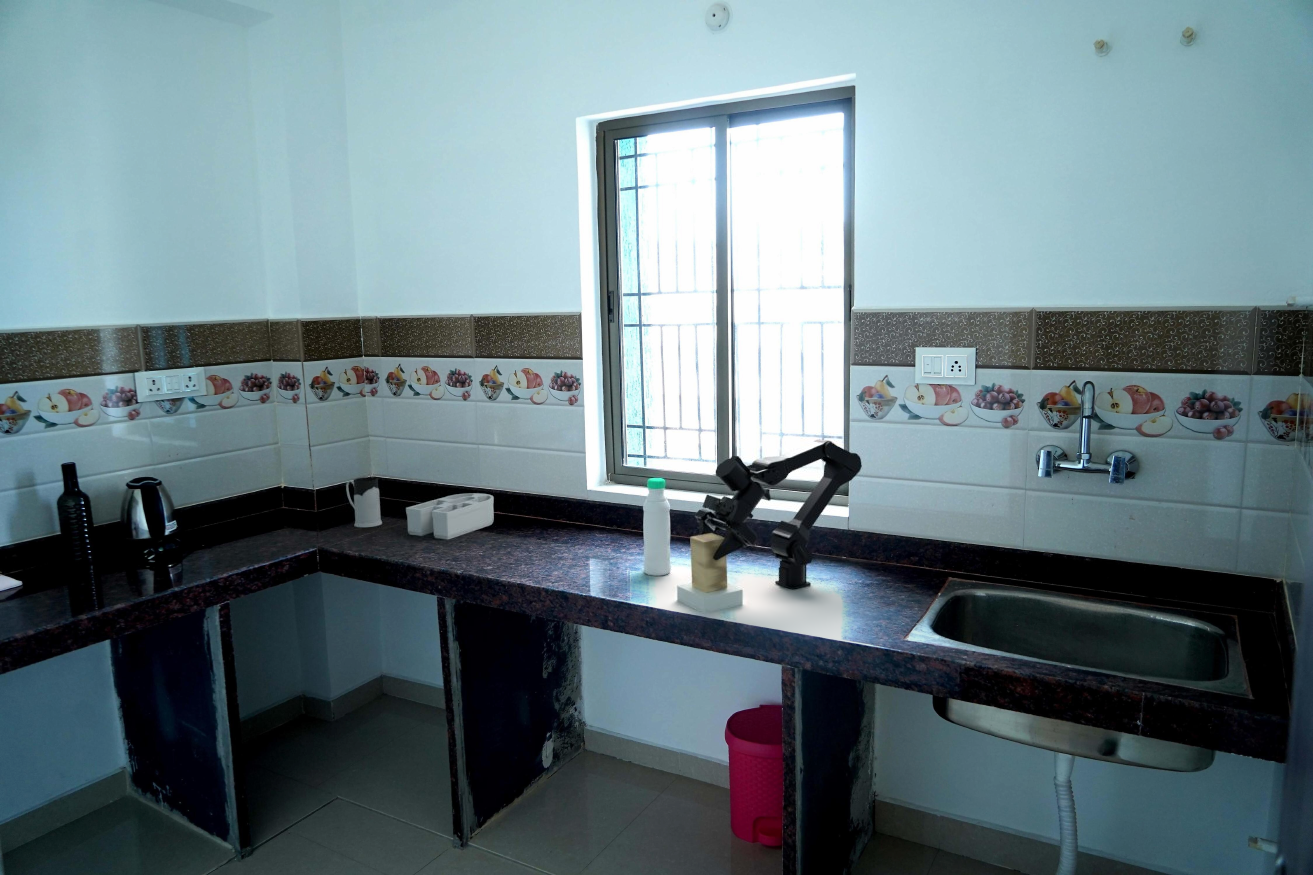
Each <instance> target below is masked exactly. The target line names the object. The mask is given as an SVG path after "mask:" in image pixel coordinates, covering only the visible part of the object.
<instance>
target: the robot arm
mask: <svg viewBox="0 0 1313 875" xmlns="http://www.w3.org/2000/svg"><path fill="white" fill-rule="evenodd" d="M819 460H821V462H824V465H823V475H822V477H821V478H820V480H819V481H818V482H817V484H816V485H815V487H814V488H813V490H812V491H811V492H810V494H809V496H808V497H807V498H806V500H805V502H803V504H802V506H800V508H799V510H798V511H797V512H796V513H795V515H794V517H793V518H791V520H789V521H785V520H781V521H780V522H778V525H777V527H776V528H775V529H774V530H773V531H772V532H771V537H770V539H769V542H770V549H771V551H772V552H773V554H774V558H775V559H779V567H778V580H776V581H775V582H774V583H775V585H778V586H781V587H784V588H788V589H790V590H796V589H800V588H803V587H804V588H805V587H808V586H811V585H812V583H811V582H809V581H807V566H808V564H812V561H813V558H814V554H813V553H812V551H810V549H808V547H807V545H808V543H809V539H810V538H809V536H810V530H812V527H814V525H815V523H816V521H817V520H818V519H819V517H820V516H821V514H823V512H824V510H825V509H826V508H827V506H828V504H829V503H830V502H831V500H832V498H834V496H835V494H837V492H838V490H839V489H840V487H842V486H843V485H845V484H847V483H850V482H851V481H853V479H854V478H855V477H856V476H857V475H858V474H859V473H860V472H861V469H862V466H863V465H862V458H861V456H860V455H859V454H857V453H856V452H852V451H849V450H846V449H845V448H843V447H840V446H838V445H837V444H835V443H834V442H833V441H831V440H829V439H828V440H827V439H821V438H819V439H815V440H813V442H810V443H809V444H805V445H804V446H801V447H799V448H796V449H794V450H791V451H789V452H786V453H784V454H782V455H778V456H767V457H761V458H756V459H755V460H753V462H752V463H750V464H747V465H746V464H745V463H744V462H743V460H742V458H741V457H740V455H739V456H738V455H735V454H732V455H731V457H730V458H727V459H725V460H723V461H722V462H721V463H719V464H718V466H717V467H716V469H715V475H716V477H717V478H718V479H719V480H720V481H721V482H722V483H723V484H724V485H725V487H727V489H728V490H730V491H731V492H735V493H734V494H733V496H732V498H730V497H729V496H725V495H724V496H723V497H721V498H720V497H716V496H713V495H711V494H710V495H709V494H706V495H705V498H704V501H703V503H702V509H699V510H697V512H696V513H695V515H694V517H695V518H696V520H697V523H698V525H699V531H698V534H697V536H698V535H703V534H708V533H713V534H716V535H718V532H720V531H721V530H724V533H725V534H724V540H723V541H722V543H721V545H720V546H719V548H718V549H717V551H716V553H715V554H714V556H713V559H714V560H716V561H717V560H719V559H720V558H722V557H724V556H726V557H727V556H728V555H730V554H732V553H734V552H736V551H738V550H741V549H742V548H746V547H748V546H751V547H754V545H755V544H756V542H758V534H757V532H755V531H754V530H753V528H751V526H749V524H748V523H746V521H747V519H750V520H752V519H753V518H754V514H753V513H752V512H753V511H754V509H755V508H756V507H757V506H758V504H760V501H761V500H765V501H768V502H771V494H770V491H771V490H770V488H766V487H763V485H762V484H764V485H768V486H773V487H774V486H776V485H778V484H780V483H781V482H783V481H784V480H786V479H787V478H788V476H789V474H790V473H792V472H794V471H796V470H798V469H801V468H802V467H805V466H807V465H810V464H813V463H815V462H817V461H819ZM707 509H709V510H707ZM712 511H713V512H712Z"/></svg>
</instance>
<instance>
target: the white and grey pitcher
mask: <svg viewBox="0 0 1313 875" xmlns="http://www.w3.org/2000/svg"><path fill="white" fill-rule="evenodd" d="M349 483H351V484H352V485H353V489H354V490H353V492H354V494H353V501H354V502H353V501H352V499H351V495H350V491H349V485H350V484H349ZM345 487H346V488H345V489H346V490H345V491H346V495H347V498H348V501H349V503H350V505H351V506H352V507H353V509H354V518H355V520H354V527H357V528H371V527H377V526H380V525H381V526H382V524H383V521H382V519H381V505H380V504H381V501H380V489H379V479H378V477H374V476H368V477H367V476H366V477H358V478H355V479H353V480H348V481H347V482H346V484H345Z"/></svg>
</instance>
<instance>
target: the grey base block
mask: <svg viewBox="0 0 1313 875" xmlns="http://www.w3.org/2000/svg"><path fill="white" fill-rule="evenodd" d="M676 588H677V590H676V591H677V592H676V593H677V595H676V596H677V597H676V600H677V601H678V602H680V603H682V604H684V605H687V606H688V607H691V608H692V609H695V610H696V609H697V611H698V610H699V612H701V613H703V614H706V612H707V613H711V612H716V611H719V610H725V609H729V608H733V607H736V606H741V605H743V600H744V598H743V597H744V595H743V594H744V593H743V592H744V591H743V588H739V587H737V586H735V585H732V584H730V583H728V582H727V588H725V589H721V590H716V591H712V592H707V593H705V592H703V591H701V590H699V589H697V588H695V587H692V582H689V583H683V584H679V585H677V586H676ZM715 610H716V611H715ZM710 611H711V612H710Z"/></svg>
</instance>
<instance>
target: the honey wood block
mask: <svg viewBox="0 0 1313 875" xmlns="http://www.w3.org/2000/svg"><path fill="white" fill-rule="evenodd" d="M716 534H717V533H716ZM716 534H713V533H708V534H703V535H698V534H697V535H694V536H690V538H689V539H690V543H689V544H690V562H691V563H690V567H691V568H690V570H691V583H692V587H695V588H697V589H699V590H701V591H703V592H705V593H707V592H712V591H716V590H721V589H725V588H727V583H728V568H727V567H728V566H727V562H728V560H727V555H726V556H724V557H722V558H720V559H719V560H717V561H716V560H714V559H713V556H714V554H715V553H716V551H717V549H718V548H719V546H720V545H721V543H722V541H723V540H724V538H725V536H724V537H723V536H721V535H719V534H717V535H716Z"/></svg>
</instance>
